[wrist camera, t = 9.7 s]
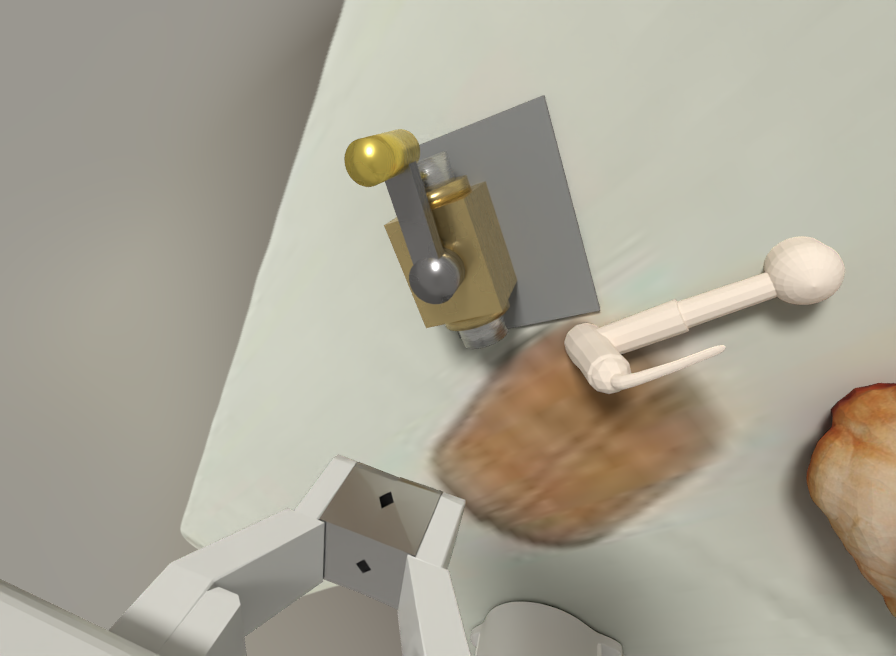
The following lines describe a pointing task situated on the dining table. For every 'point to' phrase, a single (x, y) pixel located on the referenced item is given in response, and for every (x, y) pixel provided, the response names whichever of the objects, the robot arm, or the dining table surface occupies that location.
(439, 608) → the robot arm
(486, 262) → the valve body
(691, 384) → the dining table surface
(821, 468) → the ceramic vessel
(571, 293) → the valve base plate
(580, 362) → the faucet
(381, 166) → the valve lever
